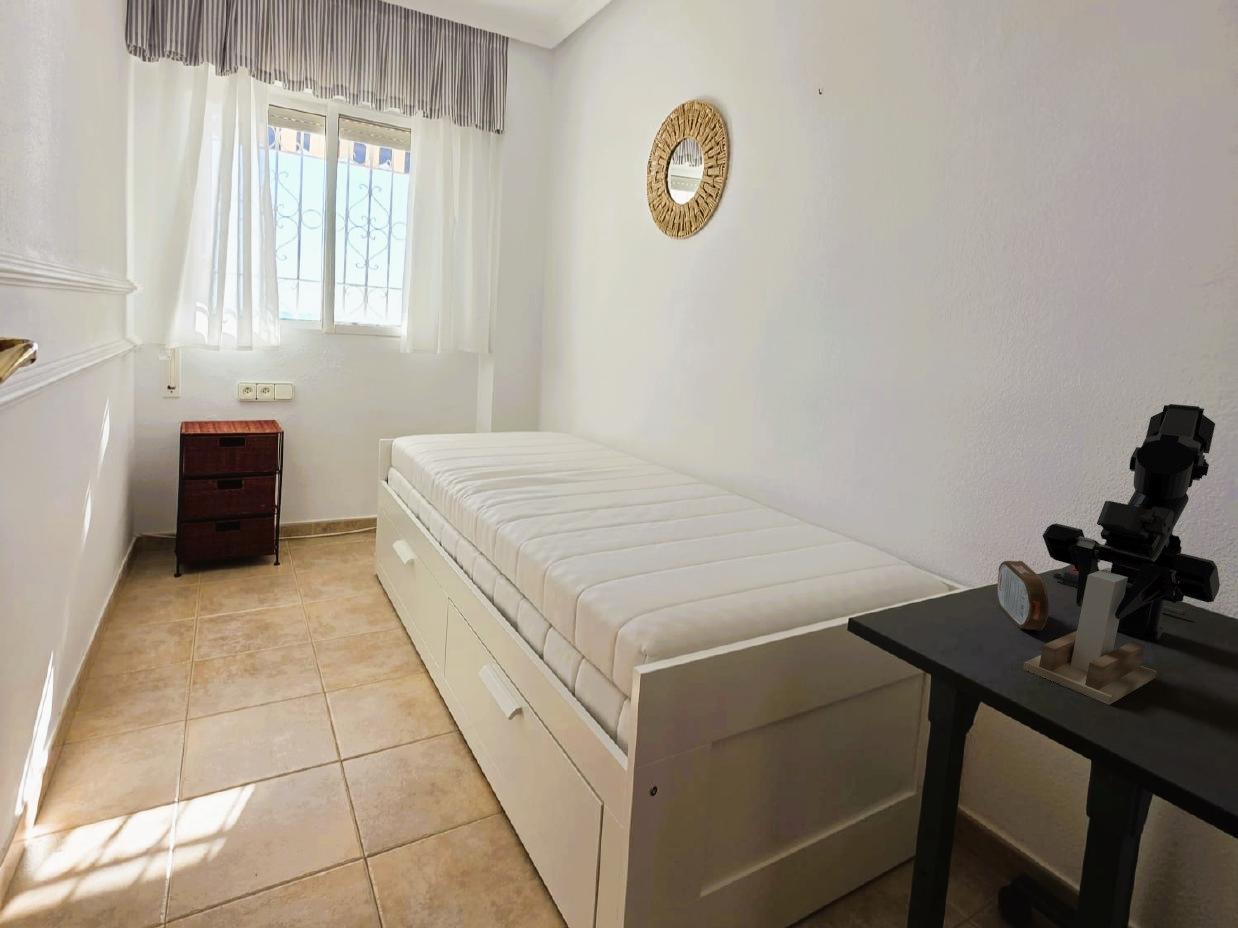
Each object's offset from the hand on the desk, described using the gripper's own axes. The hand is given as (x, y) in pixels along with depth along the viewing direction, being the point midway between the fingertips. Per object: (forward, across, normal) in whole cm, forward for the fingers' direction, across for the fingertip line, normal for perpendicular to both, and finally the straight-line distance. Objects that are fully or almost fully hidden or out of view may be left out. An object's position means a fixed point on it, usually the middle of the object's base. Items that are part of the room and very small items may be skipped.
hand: (1097, 610), depth 88 cm
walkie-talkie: (-22, -11, +36) cm, 44 cm away
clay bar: (+5, 0, +7) cm, 8 cm away
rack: (+5, 0, +7) cm, 9 cm away
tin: (-2, -15, +15) cm, 21 cm away
